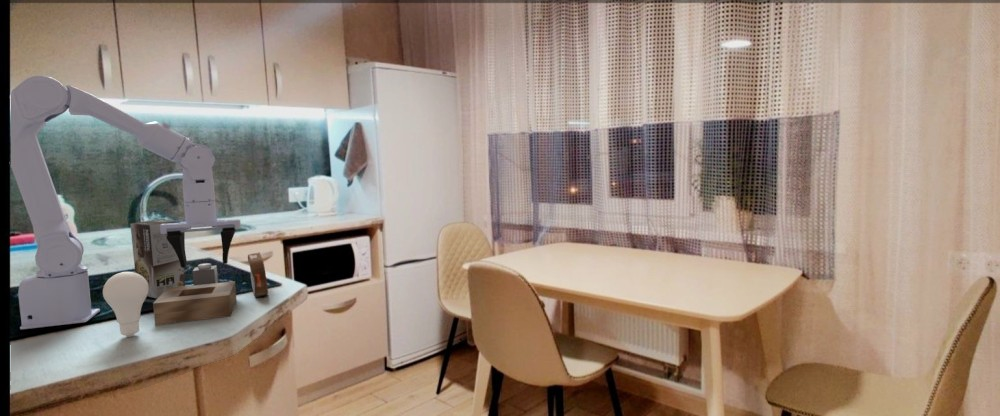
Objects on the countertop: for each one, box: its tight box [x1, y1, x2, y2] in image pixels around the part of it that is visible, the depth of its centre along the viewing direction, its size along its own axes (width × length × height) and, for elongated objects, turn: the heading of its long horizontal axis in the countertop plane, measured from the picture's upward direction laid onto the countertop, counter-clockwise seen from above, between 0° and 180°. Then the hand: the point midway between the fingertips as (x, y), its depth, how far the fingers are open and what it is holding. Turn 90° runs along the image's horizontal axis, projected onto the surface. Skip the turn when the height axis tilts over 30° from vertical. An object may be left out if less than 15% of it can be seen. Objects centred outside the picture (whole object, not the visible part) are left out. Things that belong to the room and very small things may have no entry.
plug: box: [192, 262, 219, 285], centre depth 108 cm, size 4×4×7 cm
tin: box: [247, 252, 269, 298], centre depth 111 cm, size 15×3×8 cm, turn 29°
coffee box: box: [130, 219, 186, 299], centre depth 112 cm, size 9×6×16 cm
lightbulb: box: [102, 271, 149, 338], centre depth 84 cm, size 6×6×11 cm
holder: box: [152, 280, 237, 326], centre depth 98 cm, size 12×12×4 cm
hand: (204, 264), depth 107 cm, fingers open, 7 cm apart
